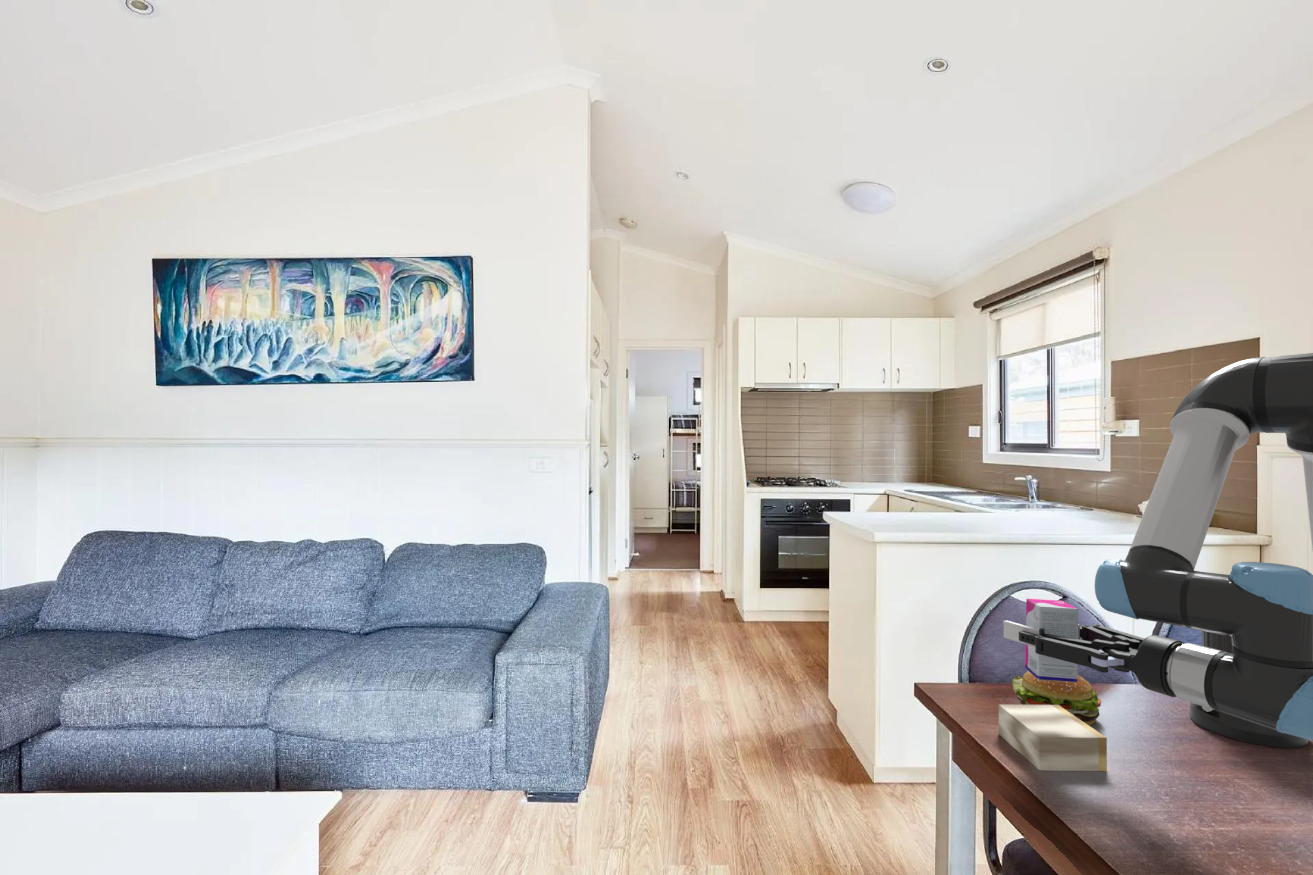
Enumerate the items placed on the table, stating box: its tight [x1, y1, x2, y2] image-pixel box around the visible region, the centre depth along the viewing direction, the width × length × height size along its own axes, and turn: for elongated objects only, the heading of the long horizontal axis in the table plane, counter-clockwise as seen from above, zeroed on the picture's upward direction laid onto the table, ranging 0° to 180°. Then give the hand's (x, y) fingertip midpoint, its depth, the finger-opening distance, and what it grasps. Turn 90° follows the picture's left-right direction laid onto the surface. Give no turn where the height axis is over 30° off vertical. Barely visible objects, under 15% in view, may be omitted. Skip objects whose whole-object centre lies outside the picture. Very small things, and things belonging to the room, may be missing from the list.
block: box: [998, 704, 1108, 772], centre depth 103 cm, size 12×10×5 cm
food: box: [1011, 670, 1102, 727], centre depth 117 cm, size 14×14×8 cm
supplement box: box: [1024, 598, 1079, 682], centre depth 103 cm, size 6×6×12 cm
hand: (1022, 625), depth 107 cm, fingers closed on supplement box, 8 cm apart
